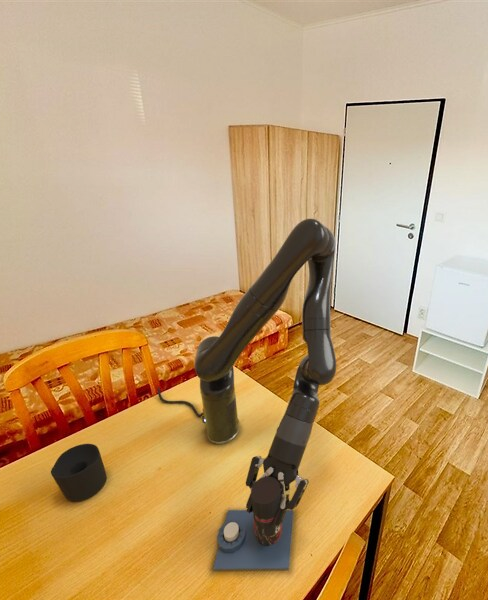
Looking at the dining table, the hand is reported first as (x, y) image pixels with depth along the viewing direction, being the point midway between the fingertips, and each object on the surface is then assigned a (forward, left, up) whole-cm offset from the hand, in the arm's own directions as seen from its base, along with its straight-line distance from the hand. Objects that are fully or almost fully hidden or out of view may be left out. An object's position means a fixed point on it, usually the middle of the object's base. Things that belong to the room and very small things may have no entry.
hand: (262, 518), depth 67 cm
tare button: (-7, -3, -9) cm, 11 cm away
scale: (-2, 0, -11) cm, 11 cm away
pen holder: (-46, -18, -11) cm, 51 cm away
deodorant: (0, +2, -8) cm, 8 cm away
